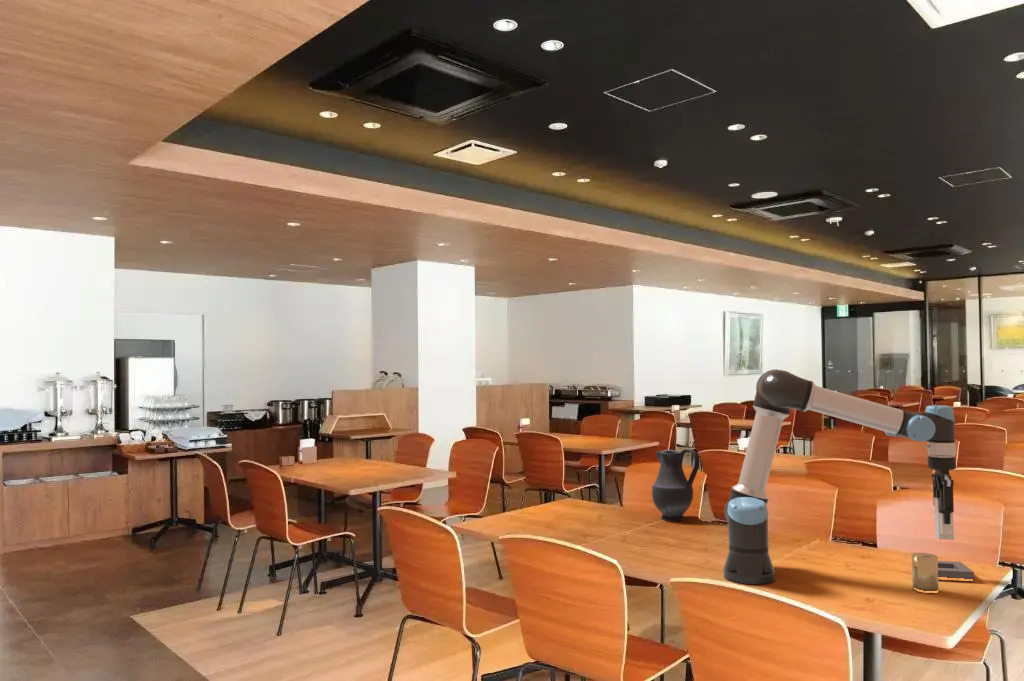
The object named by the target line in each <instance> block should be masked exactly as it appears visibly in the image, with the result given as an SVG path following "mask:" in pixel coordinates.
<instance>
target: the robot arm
mask: <svg viewBox="0 0 1024 681" xmlns="http://www.w3.org/2000/svg"><path fill="white" fill-rule="evenodd" d="M755 391H756V392H755V395H754V400H753V405H752V408H753V409H754V411H755V414H754V415H755V416H754V420H753V424H752V427H751V431H750V435H749V440H748V444H747V446H746V451H745V455H744V459H743V463H742V465H741V466H742V467H741V471H740V475H739V477H738V478H739V479H738V483H737V484H735V485H733V486H732V487H731V490H730V494H729V498H728V500H727V503H726V504H725V507H724V517H725V520H726V521H727V525H728V526H727V527H728V528H727V529H728V553H727V556H726V560H725V563H724V565H723V570H722V571H723V572H722V574H723V578H725V579H726V580H728V581H730V580H731V582H734V581H735V583H738V582H740V583H739V584H745V585H747V584H748V585H766V584H765V583H767V584H770V582H771V583H773V582H775V581H776V570H775V568H774V565H773V563H772V562H773V561H772V559H771V556H770V553H769V551H770V550H769V521H768V520H769V519H768V518H769V517H768V516H769V510H768V502H769V496H768V494H767V493H766V489H767V485H768V481H769V477H770V473H771V469H772V465H773V462H774V457H775V454H776V449H777V446H778V442H779V438H780V436H781V435H780V433H781V431H782V426H783V422H784V420H786V418H788V417H789V416H790V415H791V411H792V410H796V411H800V412H807V411H811V412H816V413H819V414H822V415H825V416H829V417H834V418H835V419H836V418H837V419H841V420H844V421H848V422H851V423H854V424H857V425H862V426H865V427H869V428H872V429H875V430H878V431H882V432H884V433H885V435H886V436H888V437H896V438H898V437H902V438H906V439H910V440H912V441H915V442H918V443H919V442H927V443H926V445H925V448H926V449H927V454H928V455H929V456H927V467H928V468H929V469H930V470H934V473H932V474H931V481H932V494H933V495H932V496H933V497H932V498H933V499H932V500H933V506H934V497H940V498H941V508H942V511H939V513H941V534H942V535H952V521H951V513H952V512H953V513H954V512H955V509H954V508H955V506H954V482H955V481H954V480H953V479H952V476H951V475H950V474H951V473H950V471H955V470H956V469H957V458H956V457H955V456H956V455H957V453H956V452H957V451H956V450H957V449H956V438H955V437H956V436H955V434H956V432H955V430H956V429H955V428H956V427H955V423H956V420H955V411H954V408H953V407H952V406H949V405H926V407H925V411H921V412H918V411H917V412H913V411H911V412H909V411H906V410H903V409H900V408H896V407H893V406H890V405H889V406H888V405H885V404H882V403H879V402H874V401H871V400H867V399H865V398H860V397H856V396H854V395H850V394H846V393H843V392H839V391H835V390H831V389H829V388H824V387H821V386H818V385H816V384H815V383H814V381H812V380H809V379H806V378H802V377H800V376H798V375H795V374H793V373H792V372H790V371H786V370H783V369H769V370H767V371H765V372H764V373H762V374H761V375H760V377H758V379H757V381H756V385H755ZM774 580H775V581H774Z"/></svg>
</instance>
